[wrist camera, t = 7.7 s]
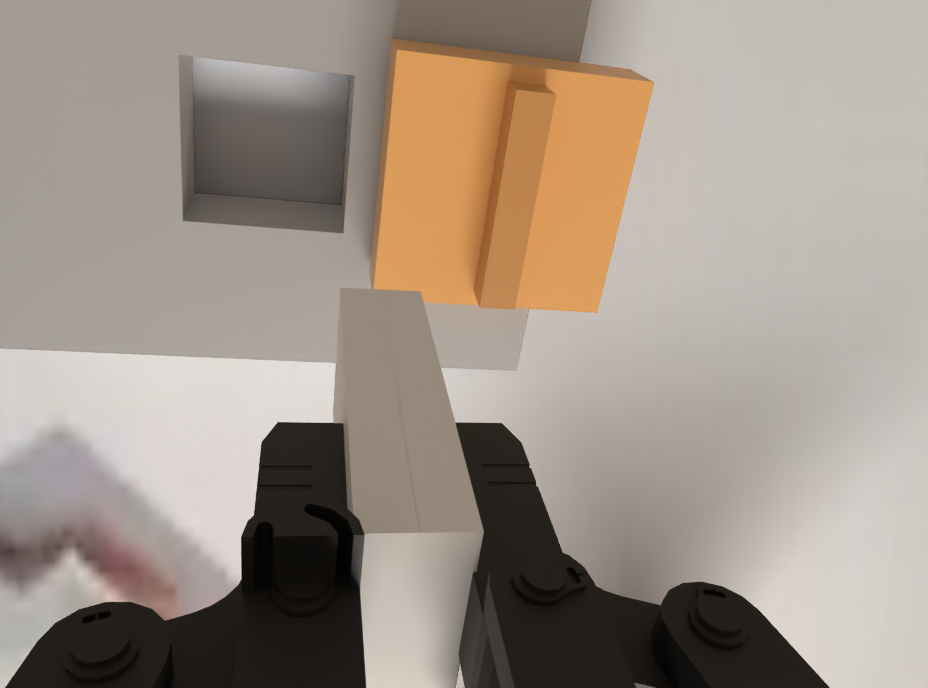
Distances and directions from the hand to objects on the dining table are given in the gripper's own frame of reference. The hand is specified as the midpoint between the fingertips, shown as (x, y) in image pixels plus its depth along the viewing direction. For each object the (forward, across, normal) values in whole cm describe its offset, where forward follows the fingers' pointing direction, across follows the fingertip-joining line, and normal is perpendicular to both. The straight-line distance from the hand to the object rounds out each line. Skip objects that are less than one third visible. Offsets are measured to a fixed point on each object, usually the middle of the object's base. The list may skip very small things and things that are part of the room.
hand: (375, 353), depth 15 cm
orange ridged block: (+13, +5, 0) cm, 14 cm away
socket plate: (+16, -3, 0) cm, 16 cm away
